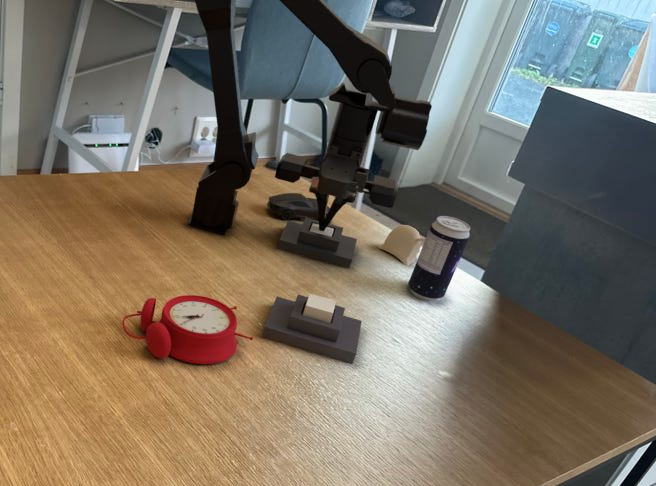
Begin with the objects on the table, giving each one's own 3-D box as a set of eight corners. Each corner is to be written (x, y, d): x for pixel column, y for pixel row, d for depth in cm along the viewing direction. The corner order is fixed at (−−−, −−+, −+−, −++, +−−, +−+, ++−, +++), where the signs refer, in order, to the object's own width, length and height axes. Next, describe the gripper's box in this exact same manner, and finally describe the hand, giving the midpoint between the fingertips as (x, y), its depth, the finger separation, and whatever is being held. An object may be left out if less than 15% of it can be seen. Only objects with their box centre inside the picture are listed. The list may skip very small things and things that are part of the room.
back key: (307, 240, 115) (309, 230, 114) (310, 232, 118) (312, 222, 117) (328, 246, 115) (331, 236, 114) (331, 238, 117) (333, 228, 116)
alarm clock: (261, 341, 83) (145, 315, 78) (240, 382, 87) (126, 360, 81) (236, 296, 92) (129, 269, 86) (217, 335, 95) (112, 311, 89)
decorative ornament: (392, 245, 124) (402, 216, 121) (428, 267, 118) (440, 238, 115) (376, 247, 122) (386, 219, 119) (412, 270, 116) (423, 240, 113)
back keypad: (276, 249, 114) (282, 229, 113) (285, 229, 122) (290, 210, 120) (349, 269, 113) (355, 249, 111) (354, 247, 120) (360, 229, 118)
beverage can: (444, 306, 107) (475, 235, 100) (407, 298, 107) (436, 226, 101) (440, 290, 112) (470, 220, 105) (404, 281, 112) (432, 211, 105)
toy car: (333, 225, 127) (340, 205, 125) (270, 220, 124) (275, 199, 122) (323, 212, 131) (329, 192, 129) (262, 206, 129) (267, 186, 127)
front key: (302, 316, 91) (305, 305, 90) (306, 304, 94) (309, 293, 93) (329, 324, 91) (333, 313, 90) (332, 311, 93) (336, 300, 92)
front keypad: (261, 337, 91) (267, 314, 89) (273, 306, 99) (279, 284, 97) (352, 364, 89) (360, 341, 87) (358, 330, 97) (366, 309, 95)
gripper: (281, 133, 101) (257, 232, 110) (410, 165, 98) (375, 264, 107) (293, 115, 110) (270, 208, 119) (411, 145, 108) (379, 237, 116)
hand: (321, 229), depth 115 cm, fingers closed, pressing on back key
